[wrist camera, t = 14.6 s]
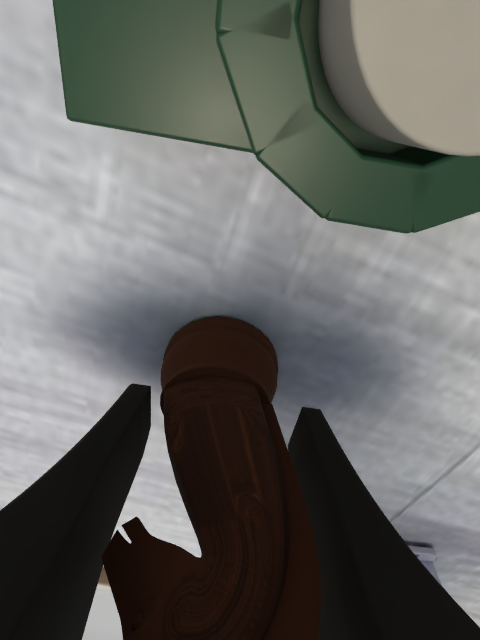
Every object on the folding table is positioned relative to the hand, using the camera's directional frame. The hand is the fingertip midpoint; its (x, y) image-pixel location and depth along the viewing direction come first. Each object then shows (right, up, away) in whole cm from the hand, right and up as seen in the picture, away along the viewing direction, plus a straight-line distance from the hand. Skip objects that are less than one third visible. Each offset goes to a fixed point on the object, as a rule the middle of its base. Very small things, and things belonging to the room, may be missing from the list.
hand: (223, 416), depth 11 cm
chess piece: (0, +2, +2) cm, 3 cm away
